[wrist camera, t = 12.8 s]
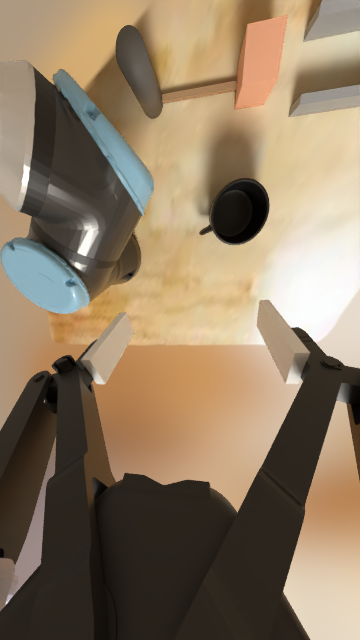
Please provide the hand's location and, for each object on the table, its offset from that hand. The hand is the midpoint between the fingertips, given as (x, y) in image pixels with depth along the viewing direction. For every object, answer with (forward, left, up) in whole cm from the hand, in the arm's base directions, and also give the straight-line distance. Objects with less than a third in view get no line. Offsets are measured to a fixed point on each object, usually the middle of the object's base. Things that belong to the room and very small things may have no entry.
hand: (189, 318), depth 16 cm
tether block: (+1, +25, -29) cm, 38 cm away
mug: (+6, +8, -29) cm, 30 cm away
